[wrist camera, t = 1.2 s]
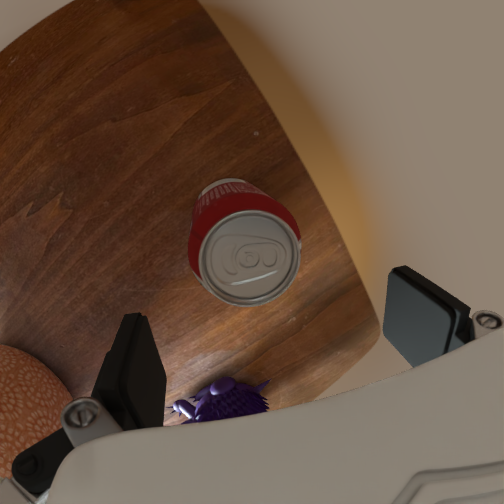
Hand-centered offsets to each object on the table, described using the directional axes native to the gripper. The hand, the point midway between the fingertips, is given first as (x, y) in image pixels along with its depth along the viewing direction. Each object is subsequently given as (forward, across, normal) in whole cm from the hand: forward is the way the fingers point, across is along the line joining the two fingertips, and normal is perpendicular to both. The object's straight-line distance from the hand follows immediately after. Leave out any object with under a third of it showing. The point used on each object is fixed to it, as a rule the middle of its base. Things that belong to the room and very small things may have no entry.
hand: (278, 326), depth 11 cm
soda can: (+18, 0, 0) cm, 18 cm away
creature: (+18, +6, +23) cm, 30 cm away
